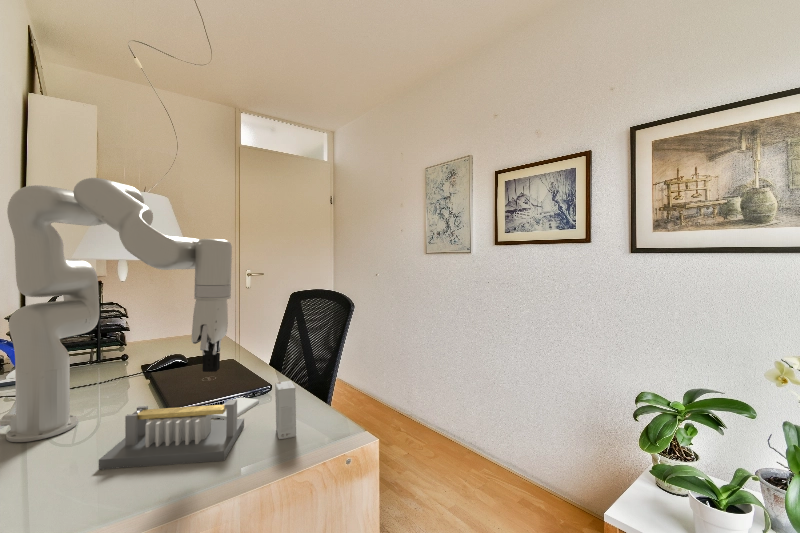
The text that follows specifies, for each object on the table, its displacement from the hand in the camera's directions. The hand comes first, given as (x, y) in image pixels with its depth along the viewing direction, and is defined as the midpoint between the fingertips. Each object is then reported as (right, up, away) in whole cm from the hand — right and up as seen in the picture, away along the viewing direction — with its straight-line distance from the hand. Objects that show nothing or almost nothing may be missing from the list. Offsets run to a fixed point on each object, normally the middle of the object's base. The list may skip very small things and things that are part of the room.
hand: (211, 370), depth 84 cm
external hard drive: (-4, -18, +19) cm, 26 cm away
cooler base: (-7, -17, -1) cm, 18 cm away
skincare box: (+16, -18, +6) cm, 24 cm away
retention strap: (-7, -10, -1) cm, 12 cm away
